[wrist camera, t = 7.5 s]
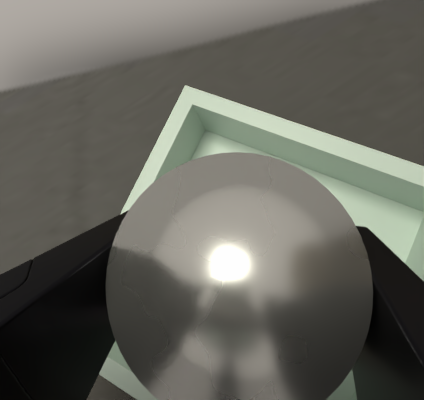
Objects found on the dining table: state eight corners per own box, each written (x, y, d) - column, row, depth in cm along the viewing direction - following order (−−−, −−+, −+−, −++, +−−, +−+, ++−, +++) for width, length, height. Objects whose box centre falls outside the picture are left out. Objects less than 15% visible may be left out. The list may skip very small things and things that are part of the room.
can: (338, 291, 14) (441, 326, 5) (241, 355, 14) (187, 490, 6) (269, 197, 15) (261, 106, 7) (182, 256, 16) (67, 242, 7)
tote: (438, 207, 16) (489, 188, 12) (335, 473, 15) (356, 547, 11) (203, 121, 20) (185, 85, 16) (101, 328, 18) (54, 344, 14)
